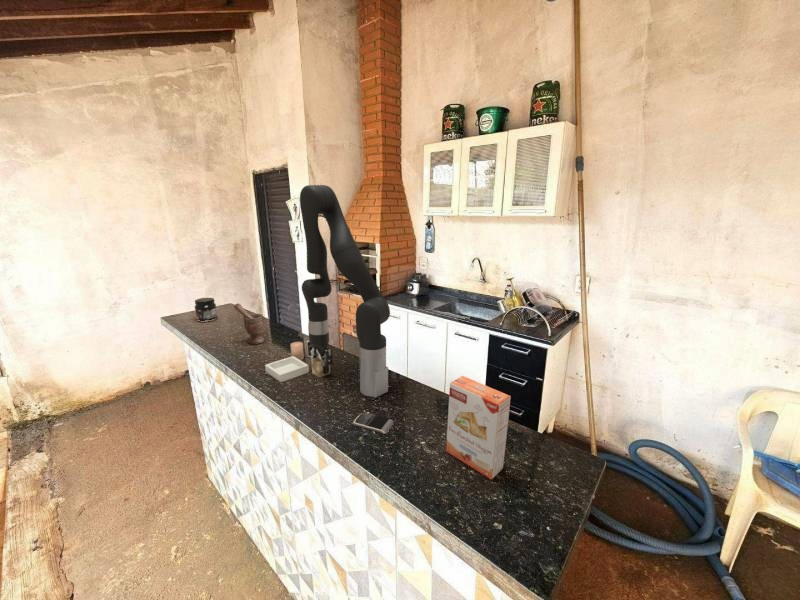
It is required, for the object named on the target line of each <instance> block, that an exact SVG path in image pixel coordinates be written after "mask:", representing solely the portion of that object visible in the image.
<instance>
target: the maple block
mask: <svg viewBox="0 0 800 600" xmlns="http://www.w3.org/2000/svg"><path fill="white" fill-rule="evenodd" d="M322 357H324V356H322ZM310 359H311V358H310ZM324 361H325V359H324ZM329 361H330V360H329ZM311 374H312V375H315V377H318V378H319V379H320V378H322V377H325V376H327V375H330V374H331V365H329V373H328V374H326V375H325V374H323V363H322V361H321V360H320V358H319V357H317V358H314V359H311Z"/></svg>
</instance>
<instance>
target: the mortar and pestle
mask: <svg viewBox="0 0 800 600" xmlns="http://www.w3.org/2000/svg"><path fill="white" fill-rule="evenodd" d="M233 309H235V310H236V311H237V312H238V313H239V314H240V315H242V316H243V322H244V328H245V331H246V333H247V334H248V335H250V337H249V338H248V341H247V343H248V344H249V343H250V344H249V345H251V344H255V345H260V344H259V343H261V344H262V342H263V343H264V341H265V342H266V340H265V338H264V336H262V333H263V331H264V325H265V321H264V314H262V313H252V314H251V313H250V314H249V313H248V312H247V311H246V308H244V307H243V306H242V305H241V304H240V303H236V304H234V305H233Z"/></svg>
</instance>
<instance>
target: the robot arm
mask: <svg viewBox="0 0 800 600" xmlns="http://www.w3.org/2000/svg"><path fill="white" fill-rule="evenodd" d="M299 193H300V194H299V206H300V212H301V219H302V225H303V230H304V236H305V243H306V244H305V245H306V270H307V272H308V273H309V274H312V275H318V276H319V278H310V279H305V280H303V282H302V284H301V291H302V295H303V297H304V299H305V302H306V307H307V313H308V314H307V315H308V322H307V323H308V324H307V329H308V330H307V331H308V341H309V342H307V341H306V347H307V346H308V354H307V357H308V356H311V357H310V359H314V358H317V357H318V356H319V358H320V360H321V361H322V363H323V374H325V376H327V375H329V374H328V373H329V365H330V366H331V365H333V364H334V363H333V362H334V361H333V359H334V358H333V355H334V354H333V349H329V350H328V348H327V343H328V342H330V328H329V326H330V324H329V319H328V315H329V314H328V306H327V304H326V303H324V302H316V301H315V299H318V298H326V297H329V296H330V295H331V292H332V290H333V288H332V283H331V280H330V279H331V278H330V276H329V272H328V249H327V245H326V243H325V241H324V238H323V236H322V233H321V231H320V227H319V215H320V214H322V216H323V218H325V221H326V222H327V226H328V230H329V235H330V236H329V237H330V238H329V250H330V254H331V257H332V259H333V262H334V263H335V266H336V267H337V270H338V271H339V272H340V273H341V275H342V276H343V277H345V279H346V280H348V281H349V282H350V284H352V285H353V286H354V287H355V289H357V291H358V293H359V295H360V297H361V299H362V301H363V302H362V303H360V304H359V305H358V306H357V308H356V311H355V329H356V338H357V339H358V342H359V343H358V344H359V347H358V348H359V383H360V384H359V388H360V389H359V391H360V393H361V394H362V395H364V396H367V397H372V398H375V399H376V398H378V397H380V396H382V395H384V394H385V393H388V392H389V367H388V366H387V338H386V336H385V335H384V334H382V332H381V325H382V324H384V323H385V322H387V321H388V320H389V318H390V315H391V308H390V306H389V303H388V301H387V299H386V298H385V296H384V295H383V293H382V292H381V290H380V288H379V287H378V285H377V283H376V282H375V280H374V277H373V275H372V274H371V271H370V270H369V268H368V266H367V264H366V261H365V259H364V257H363V254H362V252H361V251H360V249H359V247H358V245H357V242H356V241H355V238H354V236H353V234H352V232H351V230H350V228H349V225H348V223H347V221H346V218H345V216H344V212H343V210H342V208H341V204H340V202H339V200H338V197H337V194H336V193H335V191H334V190H333V188H332V187H330V186H328V185H325V184H309V185H308V184H307V185H305V186H304V187H302V189H301V191H300V192H299ZM311 350H312V352H311ZM322 356H325V357H322ZM324 359H325V361H324ZM329 360H330V361H329ZM326 374H327V375H326Z"/></svg>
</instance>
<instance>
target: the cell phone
mask: <svg viewBox="0 0 800 600" xmlns="http://www.w3.org/2000/svg"><path fill="white" fill-rule="evenodd" d="M353 424H354V426H356V427H359V428H363V429H366V430H371V431H372V432H376V433H380V434H388V432H389V430H390V429H391V428H392V426H393V425H394V420H393V419H390V418H387V417H384V416H379V415H375V414H372V413H368V412H362V413H360V414H359V415H358V416H356V418H355V419H354V421H353Z"/></svg>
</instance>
